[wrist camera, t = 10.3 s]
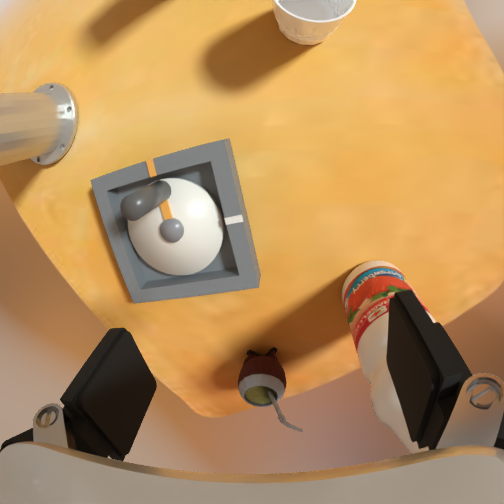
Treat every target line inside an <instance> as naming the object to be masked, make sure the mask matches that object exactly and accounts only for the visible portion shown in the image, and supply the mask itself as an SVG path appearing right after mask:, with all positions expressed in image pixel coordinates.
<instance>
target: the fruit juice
mask: <svg viewBox="0 0 504 504" xmlns="http://www.w3.org/2000/svg"><path fill="white" fill-rule="evenodd" d="M409 289H411V290H412V291H413V292H414V294H415V295H416V297H417V298H418V300H419V301H420V303H421V304H422V306H423V307H424V309H425V310H426V312H427V313H428V315H429V316H430V318H431V319H432V321H433V323H436V321H435V320H434V318H433V317H432V315H431V314H430V312H429V311H428V309H427V308H426V306H425V305H424V304H423V302H422V301H421V299H420V298H419V296H418V295H417V293H416V292H415V290H414V289H413V288H412V286H411V285H410V283H409V282H408V281H407V279H406V278H405V276H404V275H403V274H402V272H401V271H400V270H399V269H398V268H397V267H396V266H394V265H393V264H391V263H389V262H386V261H382V260H373V261H368V262H365V263H363V264H361V265H359V266H358V267H356V268H355V269H354V270H353V271H352V272H351V273H350V274H349V275H348V277H347V278H346V280H345V282H344V285H343V289H342V302H343V306H344V309H345V313H346V316H347V319H348V323H349V326H350V330H351V333H352V336H353V340H354V344H355V347H356V351H357V355H358V359H359V362H360V365H361V368H362V371H363V373H364V375H365V377H366V379H367V380H368V381H369V383H370V384H371V403H372V406H373V410H374V412H375V414H376V416H377V418H378V419H379V420H380V421H381V422H382V423H383V424H384V425H386V426H387V427H389V428H390V429H391V430H392V431H393V432H394V433H395V434H396V436H397V437H398V438H399V439H400V440H401V441H402V443H403V444H404V445H405V446H406V448H407V449H408V450H409V451H410V452H411V454H414V453H418V452H423V451H428V450H429V448H428V447H425V448H421V449H419V448H418V444H417V441H416V442H412V441H411V438H410V435H409V432H408V428H407V425H406V422H405V418H404V415H403V412H402V409H401V405H400V402H399V399H398V396H397V393H396V390H395V387H394V384H393V381H392V378H391V375H390V372H389V370H388V367H387V361H386V354H387V340H388V320H389V299H390V298H392V297H394V293H395V292H400V291H404V290H409Z"/></svg>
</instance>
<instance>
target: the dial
mask: <svg viewBox="0 0 504 504" xmlns="http://www.w3.org/2000/svg"><path fill="white" fill-rule="evenodd" d="M120 210H121V213H122V215H123V216H124V217H125V218H126V219H127V220H128V231H129V235H130V239H131V241H132V244H133V246H134V248H135V250H136V251H137V252H138V254H139V255H140V256H141V258H142V259H143V260H144V261H145V262H147V263H148V264H149V265H150V266H152V267H153V268H155V269H157V270H159V271H161V272H163V273H167V274H171V275H189V274H193V273H196V272H199V271H200V270H202V269H204V268H205V267H207V266H208V265H209V264H210V263H211V262H212V261H213V260H214V258H215V257H216V255H217V253H218V252H219V250H220V248H221V245H222V242H223V238H224V230H225V229H224V219H223V215H222V212H221V209H220V207H219V205H218V203H217V202H216V200H215V199H214V197H213V196H212V195H211V194H210V193H209V192H208V191H207V190H206V189H205V188H203V187H202V186H201V185H199V184H197V183H195V182H194V181H191V180H188V179H184V178H178V177H169V178H163V179H160V180H157V181H155V182H153V183H151V184H149V185H147V186H145V187H143V188H141V189H139V190H137V191H135V192H133V193H131V194H129V195H127V196H125V197H124V198H123V199H122V201H121V204H120Z"/></svg>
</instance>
